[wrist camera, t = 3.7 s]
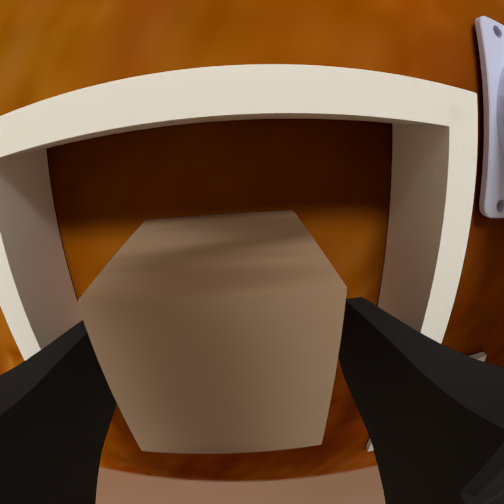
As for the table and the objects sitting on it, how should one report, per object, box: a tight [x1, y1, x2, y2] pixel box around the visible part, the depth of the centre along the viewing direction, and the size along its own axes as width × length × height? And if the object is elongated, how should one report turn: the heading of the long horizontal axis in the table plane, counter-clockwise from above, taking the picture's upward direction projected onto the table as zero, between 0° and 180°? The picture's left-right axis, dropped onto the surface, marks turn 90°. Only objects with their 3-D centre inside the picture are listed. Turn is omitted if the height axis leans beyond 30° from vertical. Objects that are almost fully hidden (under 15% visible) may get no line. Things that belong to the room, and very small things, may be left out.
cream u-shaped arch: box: [0, 64, 478, 361], centre depth 9 cm, size 13×12×3 cm
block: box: [77, 210, 347, 454], centre depth 8 cm, size 4×4×5 cm
